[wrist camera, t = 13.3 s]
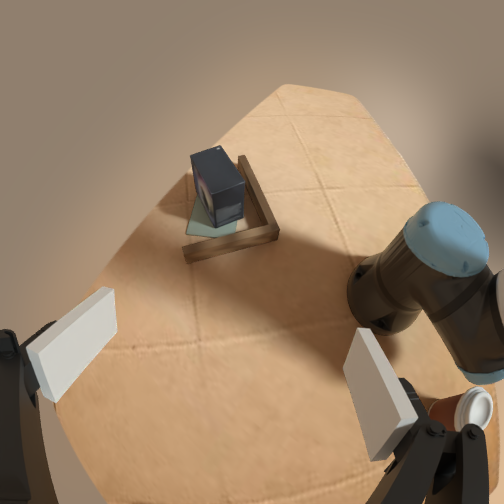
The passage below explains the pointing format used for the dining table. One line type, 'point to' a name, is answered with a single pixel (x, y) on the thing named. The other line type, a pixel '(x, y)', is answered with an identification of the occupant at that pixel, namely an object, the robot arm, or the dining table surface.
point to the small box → (218, 186)
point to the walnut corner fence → (244, 237)
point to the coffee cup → (463, 409)
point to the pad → (206, 223)
